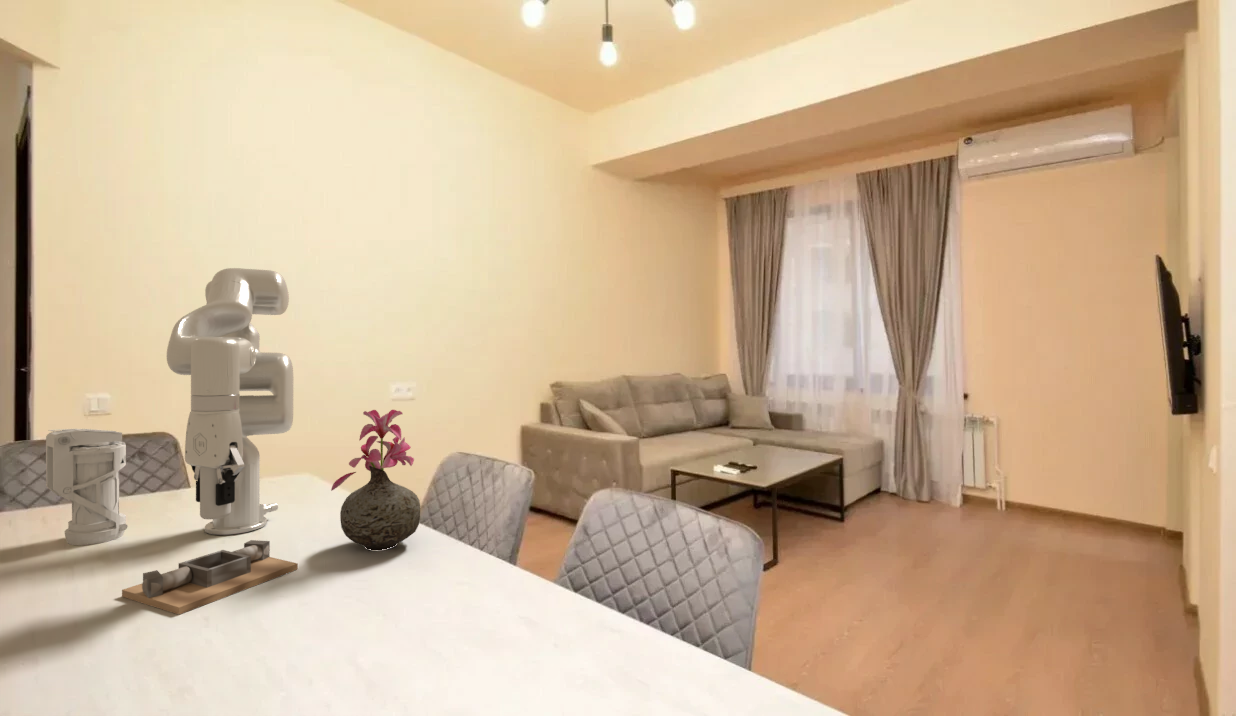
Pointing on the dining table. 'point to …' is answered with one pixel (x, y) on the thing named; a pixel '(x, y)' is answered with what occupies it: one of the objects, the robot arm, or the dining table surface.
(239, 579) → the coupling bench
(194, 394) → the robot arm
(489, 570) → the dining table surface
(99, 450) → the lantern
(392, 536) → the vase
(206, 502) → the beverage can
